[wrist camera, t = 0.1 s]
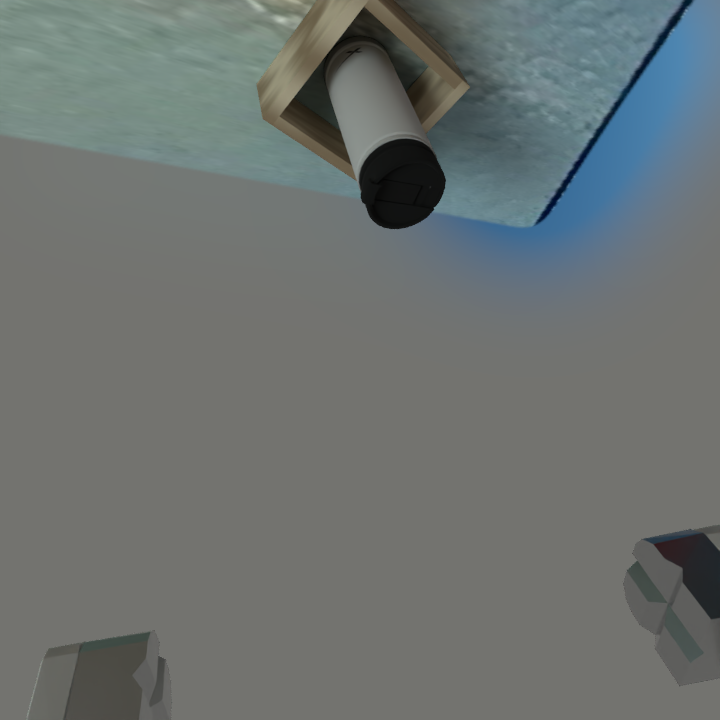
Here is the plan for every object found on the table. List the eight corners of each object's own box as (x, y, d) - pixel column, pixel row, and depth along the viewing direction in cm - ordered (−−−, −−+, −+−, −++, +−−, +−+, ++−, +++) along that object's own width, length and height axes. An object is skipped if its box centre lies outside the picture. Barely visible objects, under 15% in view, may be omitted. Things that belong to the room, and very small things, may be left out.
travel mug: (331, 25, 52) (380, 154, 40) (399, 45, 55) (465, 172, 43) (311, 93, 57) (350, 228, 45) (375, 108, 59) (429, 240, 47)
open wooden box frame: (348, -44, 49) (363, -14, 45) (450, 55, 57) (470, 87, 53) (256, 84, 55) (262, 118, 51) (360, 156, 63) (371, 190, 59)
